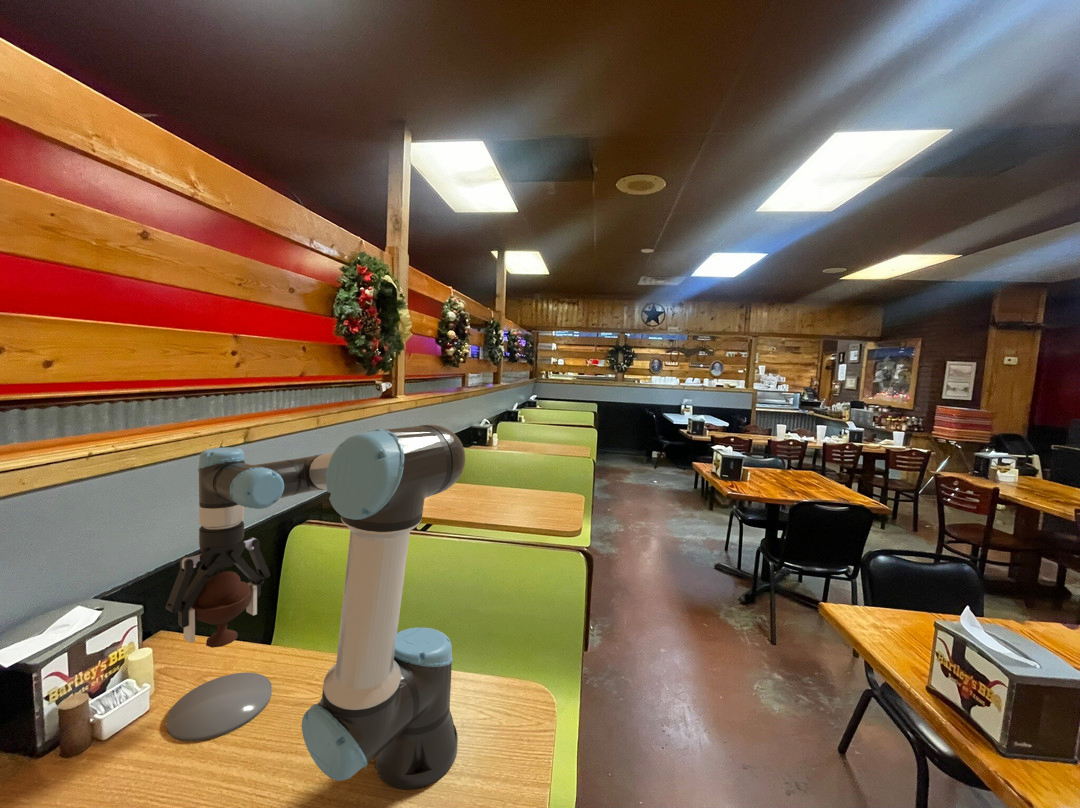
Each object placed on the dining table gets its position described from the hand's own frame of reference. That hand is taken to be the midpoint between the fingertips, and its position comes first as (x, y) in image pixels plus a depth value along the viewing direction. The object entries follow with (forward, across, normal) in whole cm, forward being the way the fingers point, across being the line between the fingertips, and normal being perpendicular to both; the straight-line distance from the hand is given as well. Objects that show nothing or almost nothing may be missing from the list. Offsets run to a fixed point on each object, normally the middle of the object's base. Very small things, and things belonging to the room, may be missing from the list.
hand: (222, 625), depth 92 cm
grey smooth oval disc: (+18, 0, 0) cm, 18 cm away
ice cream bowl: (+3, 0, 0) cm, 3 cm away
